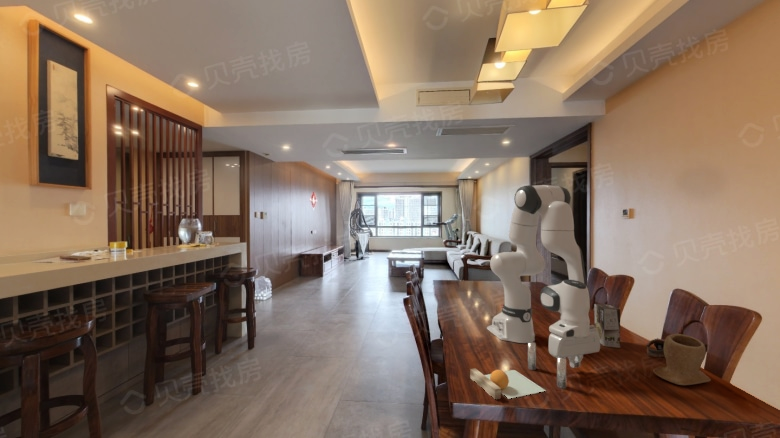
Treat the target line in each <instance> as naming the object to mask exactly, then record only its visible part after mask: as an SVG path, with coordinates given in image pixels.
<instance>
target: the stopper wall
mask: <svg viewBox="0 0 780 438" xmlns="http://www.w3.org/2000/svg"><path fill="white" fill-rule="evenodd" d="M469 370H470V371H469V374H470V375H469V378H470V379H471V381H473V382H474V381H475V382H476V383H477V386H479V387H480V388H481V387H482V388H483V389H484V390H485V392H486V393H487V394H488V395H489V396H490V397H491V396H492V397H493V400H495V399H496V400H500V399H501V398H502V397H501V396H502V393H501V388H500V387H498V386H497V385H496V384H495V383H493V382H492V381H491V380H490V379H488V378H487V377H486V376H484V375H485V374H483V373H482V372H481V371H480V370H478V369H477V368H470V369H469ZM476 383H475V384H476ZM482 388H481V389H482ZM483 389H482V390H483ZM484 390H483V391H484ZM492 397H491V398H492Z"/></svg>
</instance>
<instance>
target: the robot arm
mask: <svg viewBox="0 0 780 438" xmlns="http://www.w3.org/2000/svg"><path fill="white" fill-rule="evenodd" d="M571 199H572V198H571V193H570V191H569V190H568V189H567V188H565V187H563V186H559V185H550V184H542V185H541V184H540V185H531V184H529V185H523V186H521V187H520V186H519V188H518V189H517V190H516V192H515V194H514V204H515V206H514V208H513V211H512V215H511V218H510V219H511V221H510V226H509V231H508V232H509V233H508V238H509V240H510V241H511V243H512V244H514V245H516V251H503V252H498V253H495V254H493V255H492V257H491V258H490V262H489V263H490V264H489V266H490V267H489V268H490V269H491V272H492V273H494V275H495V276H497V277H498V278H499V280H500V282H501V284H502V286H503V293H504V304H500V307H501V308H502V310H501V312H499V313H498V314H496V315H495V316H493V317H492V320H491V322H492V323H491V324H489V325H488V326H487V327H486V329H487V330H488V331H489V332H490V333H491V334H492V335H494V336H495V337H497V339H499V340H501V341H508V342H512V343H517V344H518V343H519V344H528V342H535V340H536V339H535V337H536V333H535V332H534V324H533V323H534V322H533V318H532V316H533V308H532V306H531V305H532V304H531V303H532V300H531V299H532V296H531V295H532V294H531V293H532V292H531V289H530V288H529V287H528V286H527V285H525V284H523V282H522V279H521V277H525V276H530V277H531V276H535V275H538V274H541V273H543V272H544V270H545V269H546V261H545V260H546V259H545V258H544V257H543V255H542V254H541V253H540V252H539V251H538V247H537V234H538V227H539V221H540V220H541V222H540V224H541V225H540V240H541V244H542V246H543V247H544V248H545V249H546V250H547V251H548V252H550V253H551V254H555V255H556V256H559V257H561V258H562V259H563V260H564V261H565V264H566V268H567V275H568V279H564V280H562V281H561V282H560V283H557V284H551V285H547V286H546V285H545V286H543V288H542V289H541V290H540V293H539V300H540V303H541V305H542V307H543V308H544V309H546V310H547V311H549V312H558V313H560V319H559V320H557V321H556V322H554V323H553V324H551V325H549V327H548V330H549V332H550V334H549V336H548V353H549V354H550V355H551V356H552V357H553V358H555V359H557V357H558V356H561V357H564V358H567V359H568V362H569V366H570V368H573V369H575V368H580V367H581V362H582V360H583V358H584V355H588V354H593V353H598V352H600V349H601V343H600V339H599V334H598V333H597V328H596V327H595V324H594V325H593V324H591V321H590V316H589V312H590V309H591V306H590V305H591V301H592V299H591V294H590V291H589V287H588V285H587V284H588V283H587V276H586V269H585V260H584V256H583V255H584V254H583V252H582V249H581V247H580V246H579V244H577V241H576V238H575V223H574V216H573V215H574V214H573V210H572V206H571V205H570V204H571ZM590 324H591V325H590Z"/></svg>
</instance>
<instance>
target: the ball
mask: <svg viewBox="0 0 780 438" xmlns="http://www.w3.org/2000/svg"><path fill="white" fill-rule="evenodd" d="M490 374H491V376H490V380H491V381H492V382H493V383H495V384H496V385H497V386H498V387H500V388H501V390H502V389H505V388H506V387H507V386H508V383H509V379H508V376H507V375H506V373H505V371H504V370H501V369H495V370H493V371H492V372H491V373H490Z"/></svg>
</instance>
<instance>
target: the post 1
mask: <svg viewBox="0 0 780 438" xmlns="http://www.w3.org/2000/svg"><path fill="white" fill-rule="evenodd" d="M536 358H537V343H536V342H535V341H533V342H528V343H527V368H528V370H531V371H535V370H536V369H537V359H536Z"/></svg>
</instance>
